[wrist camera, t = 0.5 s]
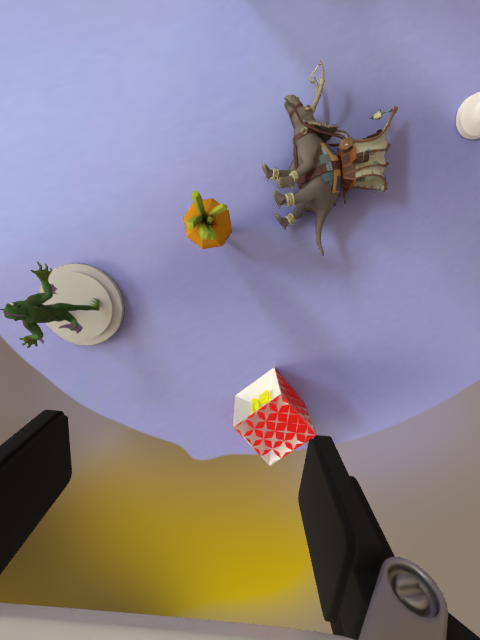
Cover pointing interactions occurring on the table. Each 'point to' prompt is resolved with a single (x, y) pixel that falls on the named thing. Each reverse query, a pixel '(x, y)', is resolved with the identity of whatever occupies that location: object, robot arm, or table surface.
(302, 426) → the red patterned box
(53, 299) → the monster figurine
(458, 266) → the table surface
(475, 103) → the chess piece
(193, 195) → the carrot
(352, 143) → the figurine
